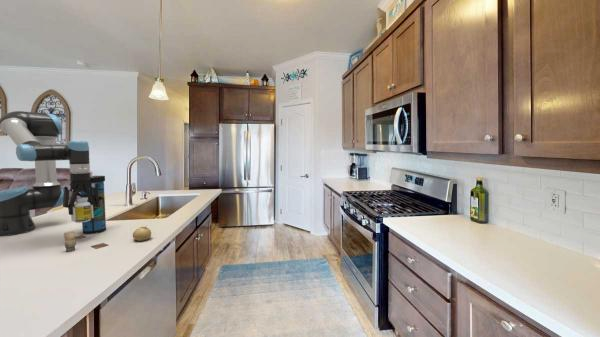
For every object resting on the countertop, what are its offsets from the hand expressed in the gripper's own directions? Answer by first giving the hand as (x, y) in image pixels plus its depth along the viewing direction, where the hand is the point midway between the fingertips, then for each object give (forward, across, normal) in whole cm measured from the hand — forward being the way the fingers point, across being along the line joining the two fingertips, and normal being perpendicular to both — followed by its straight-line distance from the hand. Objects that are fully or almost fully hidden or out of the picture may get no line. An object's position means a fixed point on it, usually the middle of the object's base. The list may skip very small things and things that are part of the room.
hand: (82, 219), depth 128 cm
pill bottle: (+1, 0, 0) cm, 1 cm away
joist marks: (+10, 0, -5) cm, 11 cm away
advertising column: (+11, +9, +11) cm, 18 cm away
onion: (+11, +15, -24) cm, 30 cm away
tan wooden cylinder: (+10, -9, -11) cm, 18 cm away
